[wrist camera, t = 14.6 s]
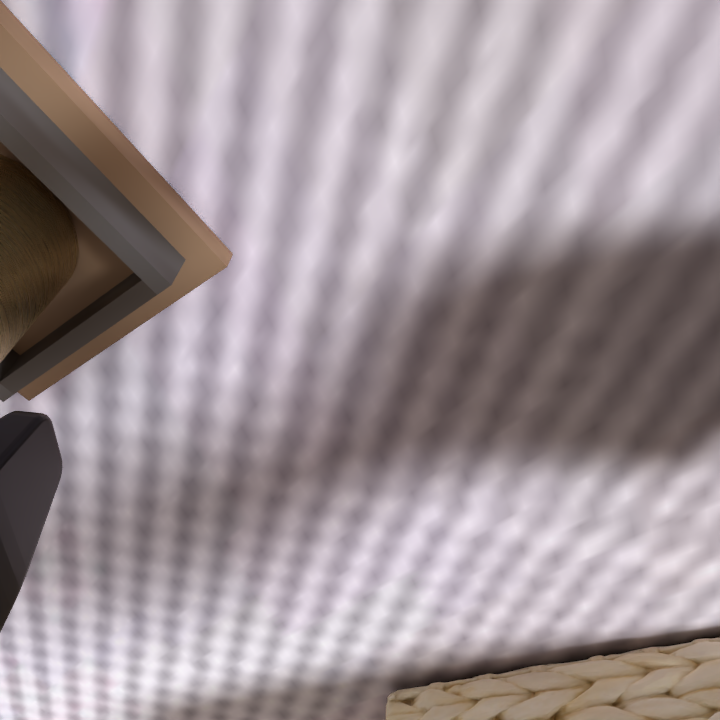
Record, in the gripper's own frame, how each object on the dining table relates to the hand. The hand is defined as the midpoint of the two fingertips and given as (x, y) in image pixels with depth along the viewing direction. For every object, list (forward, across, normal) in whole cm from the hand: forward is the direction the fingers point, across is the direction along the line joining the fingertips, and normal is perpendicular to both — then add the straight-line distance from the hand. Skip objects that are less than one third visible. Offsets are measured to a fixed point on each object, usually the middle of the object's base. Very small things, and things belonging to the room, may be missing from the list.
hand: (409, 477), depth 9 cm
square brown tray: (+13, +12, +4) cm, 18 cm away
